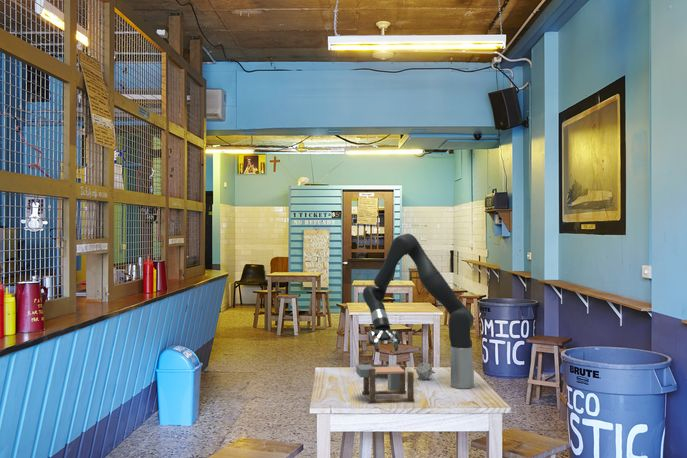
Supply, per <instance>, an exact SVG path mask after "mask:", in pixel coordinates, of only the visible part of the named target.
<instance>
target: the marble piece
mask: <svg viewBox="0 0 687 458" xmlns="http://www.w3.org/2000/svg"><path fill="white" fill-rule="evenodd" d="M371 365H372V366H373V367H388V365H389V364H388V365H387V364H384V365H383V364H373V363H372V364H371ZM376 378H378V379H383V380H384V379H385V380H388V374H376V375H375V379H376Z"/></svg>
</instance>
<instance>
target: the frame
mask: <svg viewBox="0 0 687 458" xmlns="http://www.w3.org/2000/svg"><path fill="white" fill-rule="evenodd" d="M368 364H370V362H369V361H363V364H362V365H368ZM398 365H399V367H401V368H402V369H403V370H404V371H405V373H400V374H399V390H391V391H390V390H376V378H375V373H376V369H375V368H372V369H369V377H362V378H363V385H362V386H363V391H362V393H361V394H362V396H366V395H367V396H369V397H368V400H367V402H368V404H390V403H391V404H393V403H414V402H415V397H414V396H415V395H414V393H415V391H414V389H415V388H414V387H415V386H414V383H415V382H414V379H415V378H414V376H415V375H414V372H413V371H406V365H405V364H398ZM406 372H407V376H406ZM406 378H407V381H406ZM406 383H407V385H406ZM406 388H407V389H406ZM406 390H407V391H406ZM400 394H401V395H403V394H405V395H407V397H404V398H403V397H402V398H376V396H378V395H379V396H380V395H400Z"/></svg>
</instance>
